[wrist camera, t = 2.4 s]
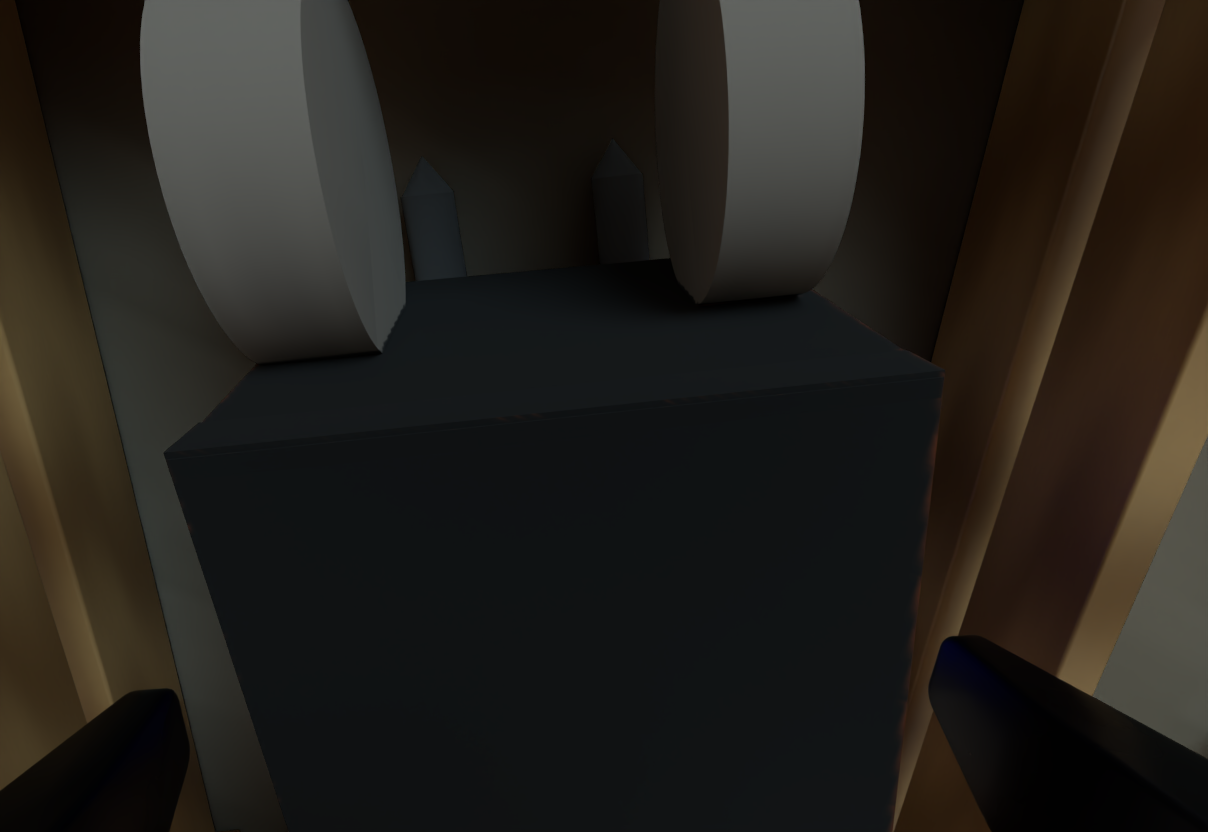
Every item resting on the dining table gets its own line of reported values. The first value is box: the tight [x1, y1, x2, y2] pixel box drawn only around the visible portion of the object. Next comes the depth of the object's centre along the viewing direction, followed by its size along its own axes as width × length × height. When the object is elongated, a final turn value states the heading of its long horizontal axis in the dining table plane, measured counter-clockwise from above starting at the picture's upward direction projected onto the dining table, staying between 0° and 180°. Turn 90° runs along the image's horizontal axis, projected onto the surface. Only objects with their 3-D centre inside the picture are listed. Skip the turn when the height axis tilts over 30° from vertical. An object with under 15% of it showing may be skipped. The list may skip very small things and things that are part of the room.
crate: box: [0, 0, 1208, 832], centre depth 11 cm, size 21×17×5 cm
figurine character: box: [140, 0, 945, 832], centre depth 10 cm, size 7×8×15 cm
